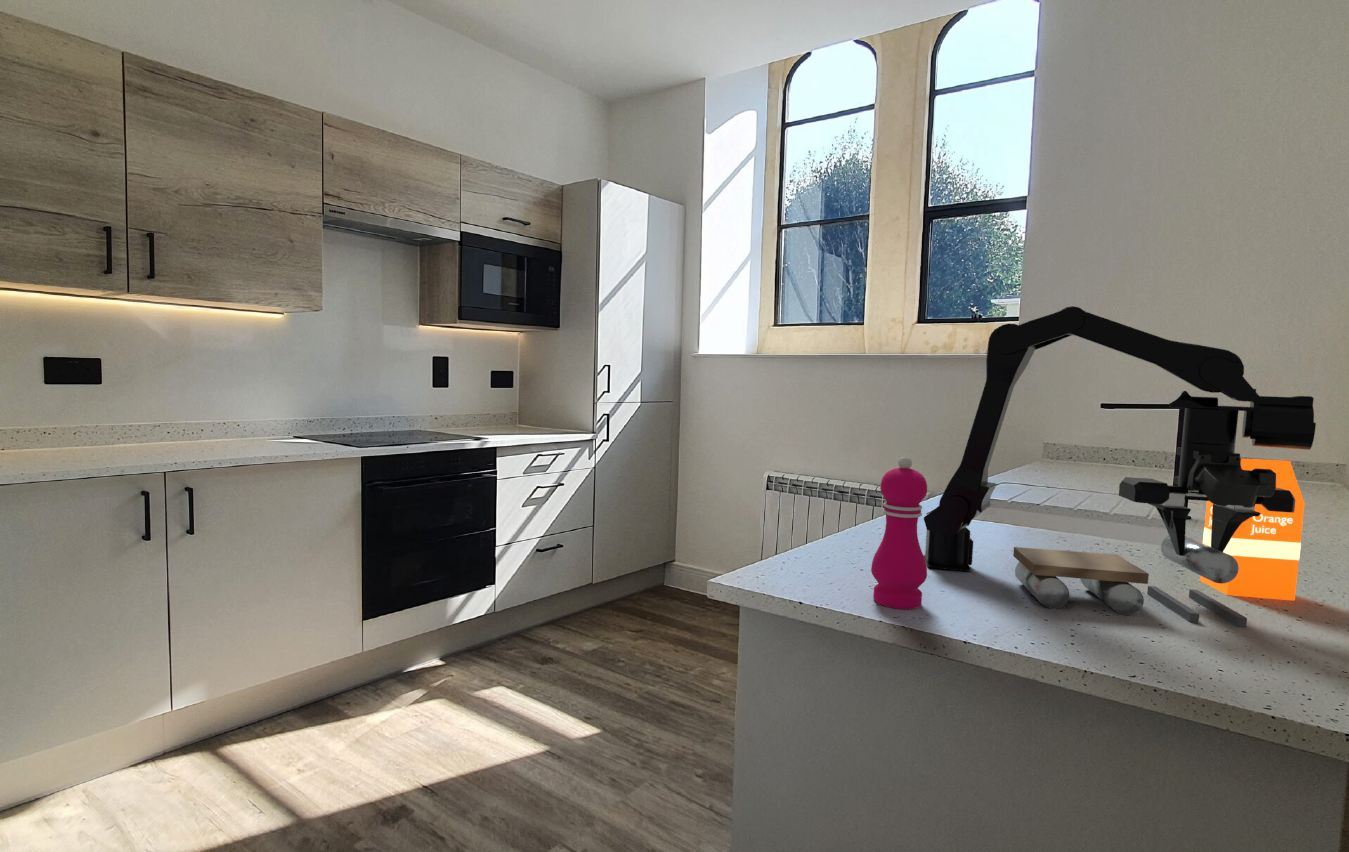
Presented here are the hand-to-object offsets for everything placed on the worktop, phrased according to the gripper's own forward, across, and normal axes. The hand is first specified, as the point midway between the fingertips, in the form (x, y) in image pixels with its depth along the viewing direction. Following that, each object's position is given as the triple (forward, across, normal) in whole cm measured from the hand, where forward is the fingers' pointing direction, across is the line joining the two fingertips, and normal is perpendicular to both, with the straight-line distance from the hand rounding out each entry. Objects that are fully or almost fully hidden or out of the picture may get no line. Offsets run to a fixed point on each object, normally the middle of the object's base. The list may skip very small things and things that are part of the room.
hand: (1197, 556), depth 95 cm
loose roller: (0, 0, 0) cm, 0 cm away
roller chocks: (+7, 0, 0) cm, 7 cm away
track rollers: (+7, -15, 0) cm, 17 cm away
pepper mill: (+8, -40, -9) cm, 42 cm away
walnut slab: (+3, -15, 0) cm, 15 cm away
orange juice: (+8, +13, +13) cm, 20 cm away
